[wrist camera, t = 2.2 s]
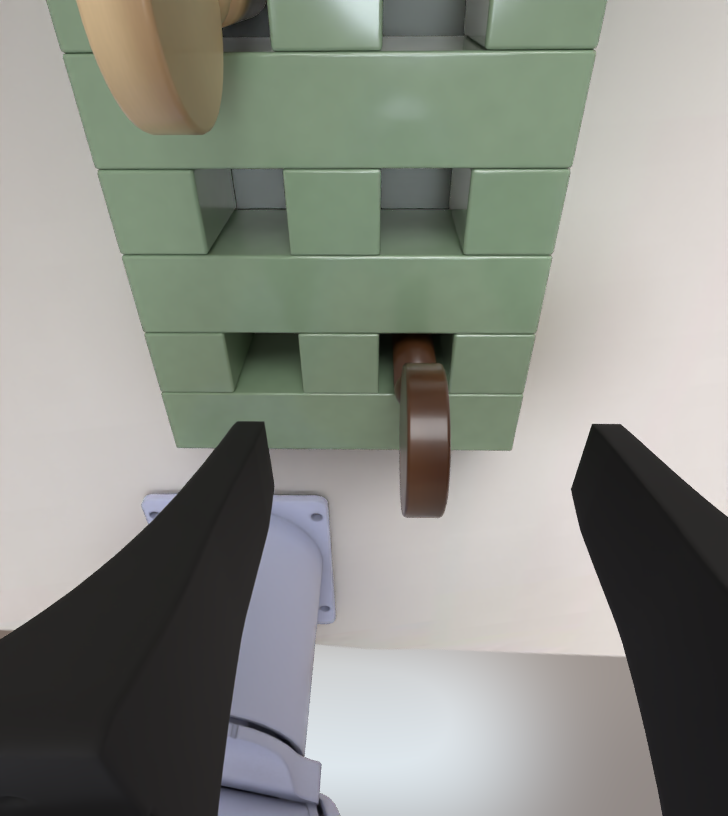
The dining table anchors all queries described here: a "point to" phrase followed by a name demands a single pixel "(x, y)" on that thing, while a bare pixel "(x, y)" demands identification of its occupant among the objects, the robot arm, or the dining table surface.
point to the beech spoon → (164, 58)
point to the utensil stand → (348, 217)
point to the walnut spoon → (422, 426)
